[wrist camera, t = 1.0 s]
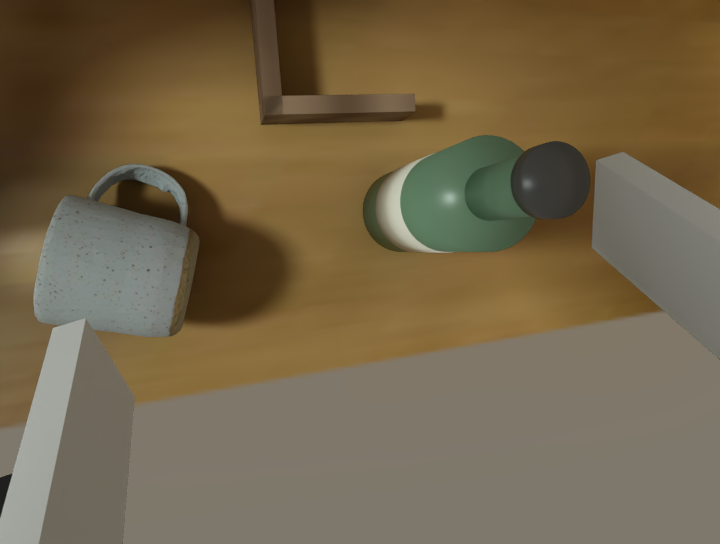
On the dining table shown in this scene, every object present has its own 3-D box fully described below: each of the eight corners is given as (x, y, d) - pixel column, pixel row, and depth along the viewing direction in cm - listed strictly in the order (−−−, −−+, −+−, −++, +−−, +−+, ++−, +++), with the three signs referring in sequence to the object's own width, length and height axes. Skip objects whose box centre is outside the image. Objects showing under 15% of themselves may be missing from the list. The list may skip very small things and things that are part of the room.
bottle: (348, 230, 43) (467, 213, 23) (382, 156, 43) (527, 78, 24) (419, 265, 44) (586, 276, 25) (451, 193, 45) (639, 149, 25)
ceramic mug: (183, 334, 40) (179, 351, 33) (53, 315, 38) (17, 328, 30) (212, 183, 40) (214, 165, 33) (85, 155, 38) (57, 129, 31)
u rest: (260, 124, 41) (265, 114, 38) (247, -28, 40) (250, -50, 37) (401, 120, 43) (415, 111, 41) (391, -23, 43) (404, -43, 40)
